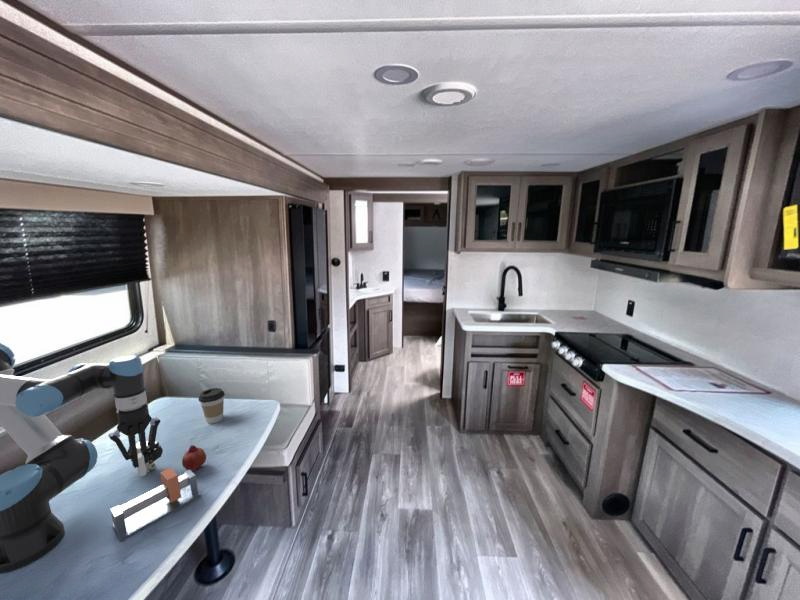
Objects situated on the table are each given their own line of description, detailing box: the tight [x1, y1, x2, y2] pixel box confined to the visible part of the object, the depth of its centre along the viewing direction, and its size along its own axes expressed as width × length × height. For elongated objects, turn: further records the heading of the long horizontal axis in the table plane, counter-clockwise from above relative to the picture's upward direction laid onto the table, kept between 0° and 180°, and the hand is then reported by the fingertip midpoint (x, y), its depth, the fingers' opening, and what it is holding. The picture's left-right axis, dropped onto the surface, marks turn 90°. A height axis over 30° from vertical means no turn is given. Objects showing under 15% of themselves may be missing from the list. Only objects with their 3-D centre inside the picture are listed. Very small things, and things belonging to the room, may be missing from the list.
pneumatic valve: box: [127, 440, 164, 474], centre depth 129 cm, size 6×12×12 cm, turn 78°
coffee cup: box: [198, 387, 226, 425], centre depth 164 cm, size 11×11×15 cm
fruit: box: [181, 444, 207, 472], centre depth 129 cm, size 8×8×10 cm
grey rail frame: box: [110, 470, 202, 543], centre depth 109 cm, size 22×9×8 cm, turn 142°
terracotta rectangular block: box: [160, 467, 181, 503], centre depth 112 cm, size 3×6×8 cm, turn 52°
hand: (142, 473), depth 107 cm, fingers closed
